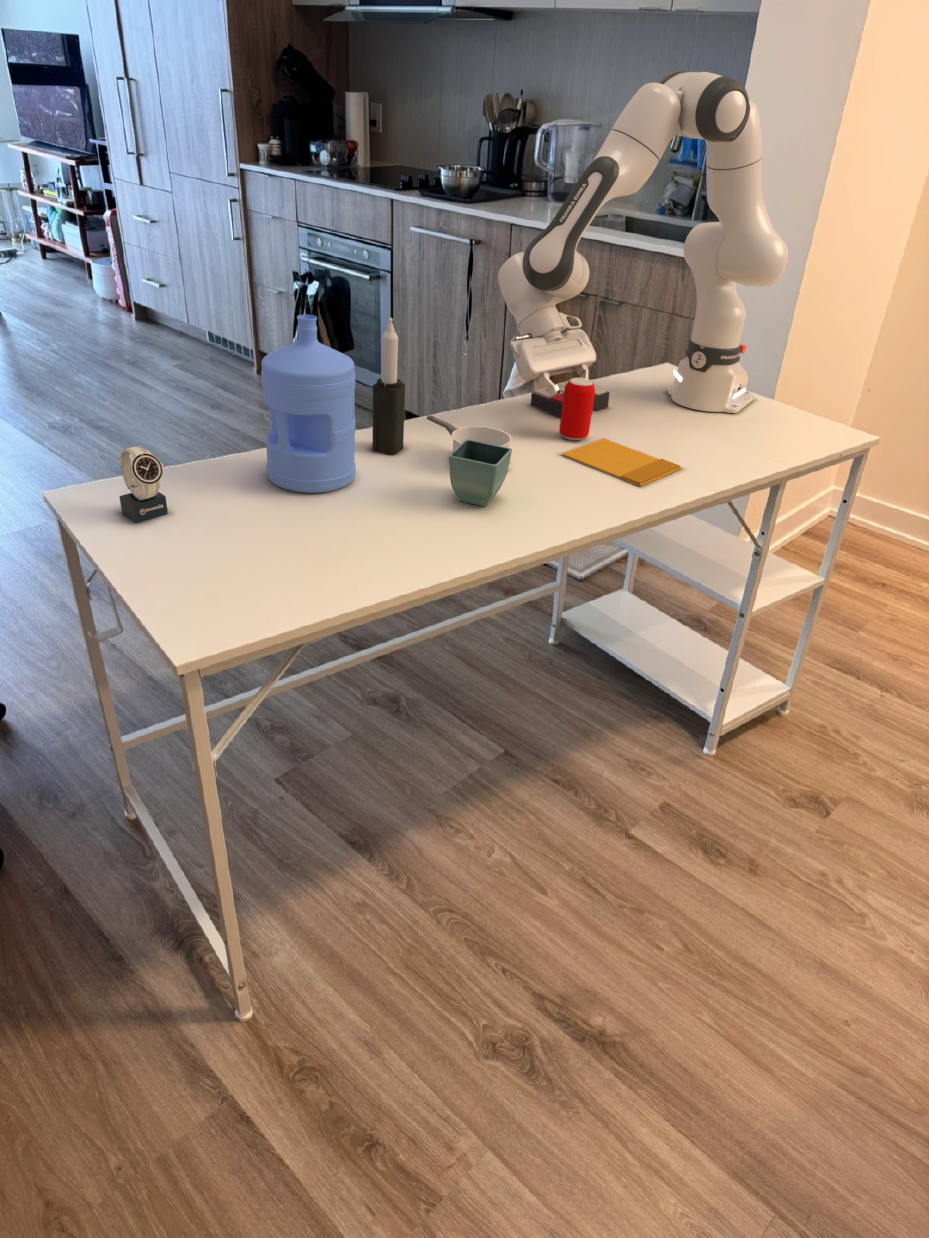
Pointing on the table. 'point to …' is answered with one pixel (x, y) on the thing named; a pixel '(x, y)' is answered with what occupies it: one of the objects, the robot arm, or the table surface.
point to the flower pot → (478, 471)
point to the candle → (388, 399)
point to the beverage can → (577, 409)
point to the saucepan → (474, 434)
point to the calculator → (555, 403)
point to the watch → (142, 485)
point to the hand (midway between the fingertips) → (571, 391)
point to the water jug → (310, 414)
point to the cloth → (622, 462)
